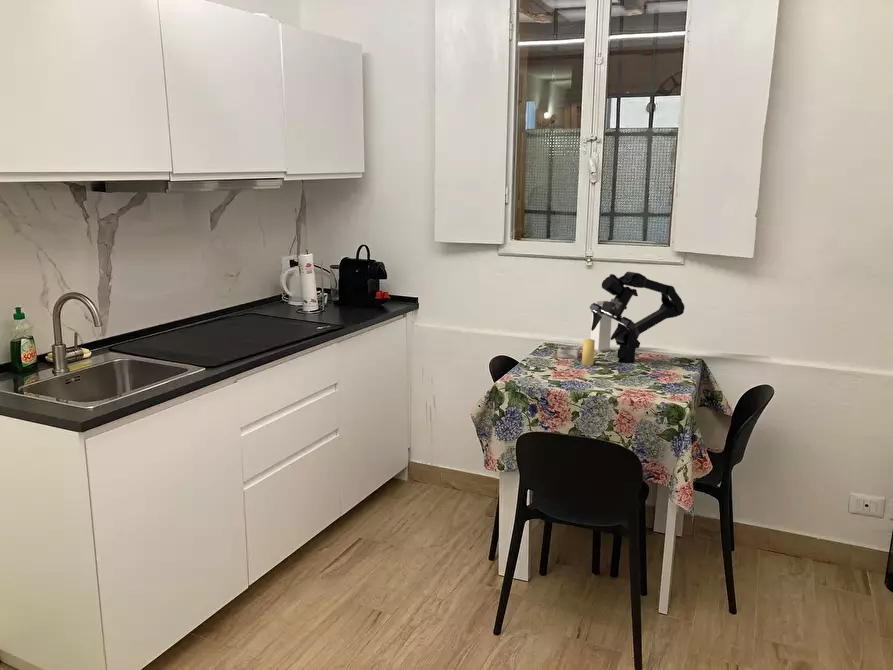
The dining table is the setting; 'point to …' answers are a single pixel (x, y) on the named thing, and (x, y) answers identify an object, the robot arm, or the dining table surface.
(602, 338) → the milk
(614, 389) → the dining table surface
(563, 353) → the stand
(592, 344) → the post
